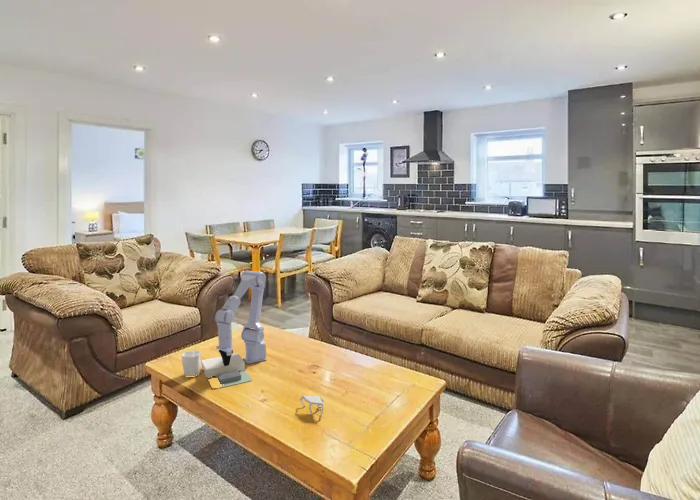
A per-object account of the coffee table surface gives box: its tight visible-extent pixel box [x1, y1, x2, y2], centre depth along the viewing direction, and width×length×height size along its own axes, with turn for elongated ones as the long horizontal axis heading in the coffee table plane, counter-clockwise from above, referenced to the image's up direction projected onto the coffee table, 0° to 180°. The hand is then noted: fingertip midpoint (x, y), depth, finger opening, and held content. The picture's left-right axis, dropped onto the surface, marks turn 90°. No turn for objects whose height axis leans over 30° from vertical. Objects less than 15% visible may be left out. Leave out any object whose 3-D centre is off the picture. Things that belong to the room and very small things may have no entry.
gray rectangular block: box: [216, 370, 241, 384], centre depth 184 cm, size 9×6×2 cm, turn 119°
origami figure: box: [299, 394, 325, 417], centre depth 159 cm, size 12×8×5 cm
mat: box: [222, 370, 253, 388], centre depth 184 cm, size 17×11×1 cm, turn 119°
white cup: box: [181, 350, 202, 377], centre depth 188 cm, size 8×8×10 cm
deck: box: [201, 352, 246, 378], centre depth 194 cm, size 17×12×4 cm
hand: (226, 365), depth 187 cm, fingers closed
